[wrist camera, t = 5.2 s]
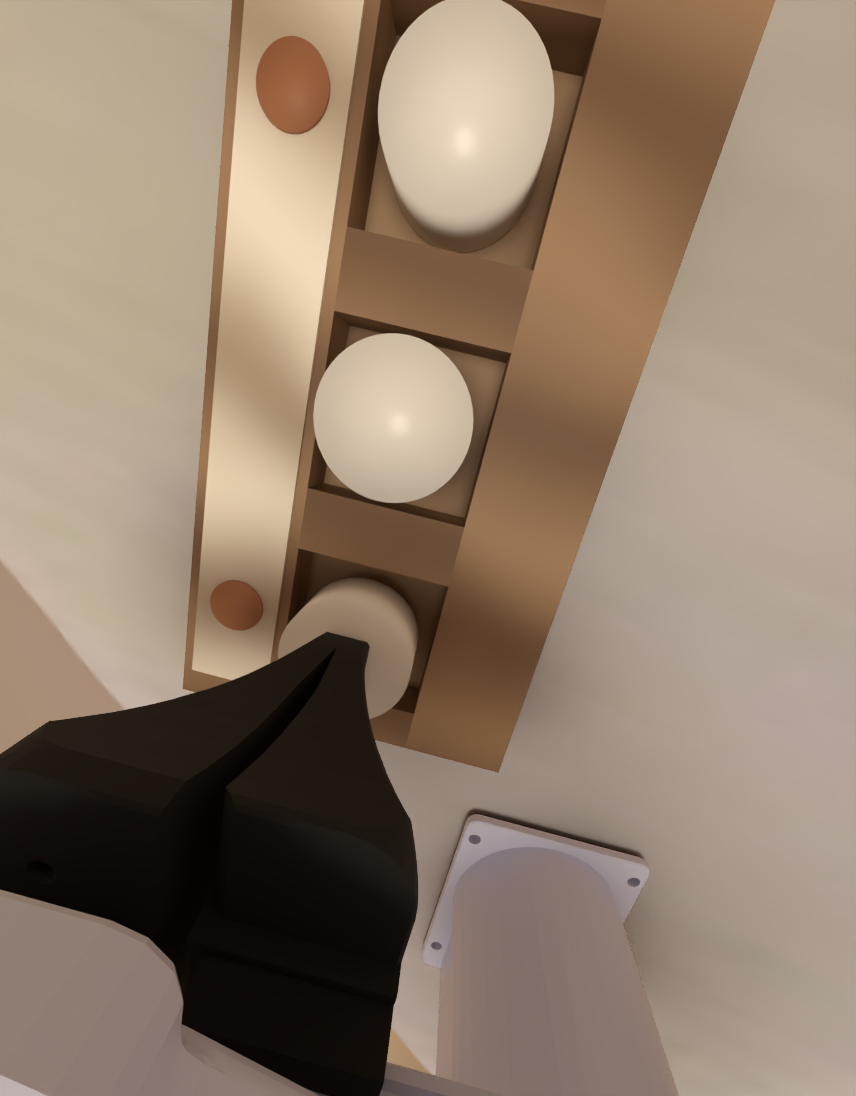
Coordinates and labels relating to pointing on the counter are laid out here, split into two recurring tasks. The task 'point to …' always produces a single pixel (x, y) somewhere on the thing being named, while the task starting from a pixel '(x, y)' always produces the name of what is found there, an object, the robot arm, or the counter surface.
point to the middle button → (393, 418)
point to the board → (440, 335)
